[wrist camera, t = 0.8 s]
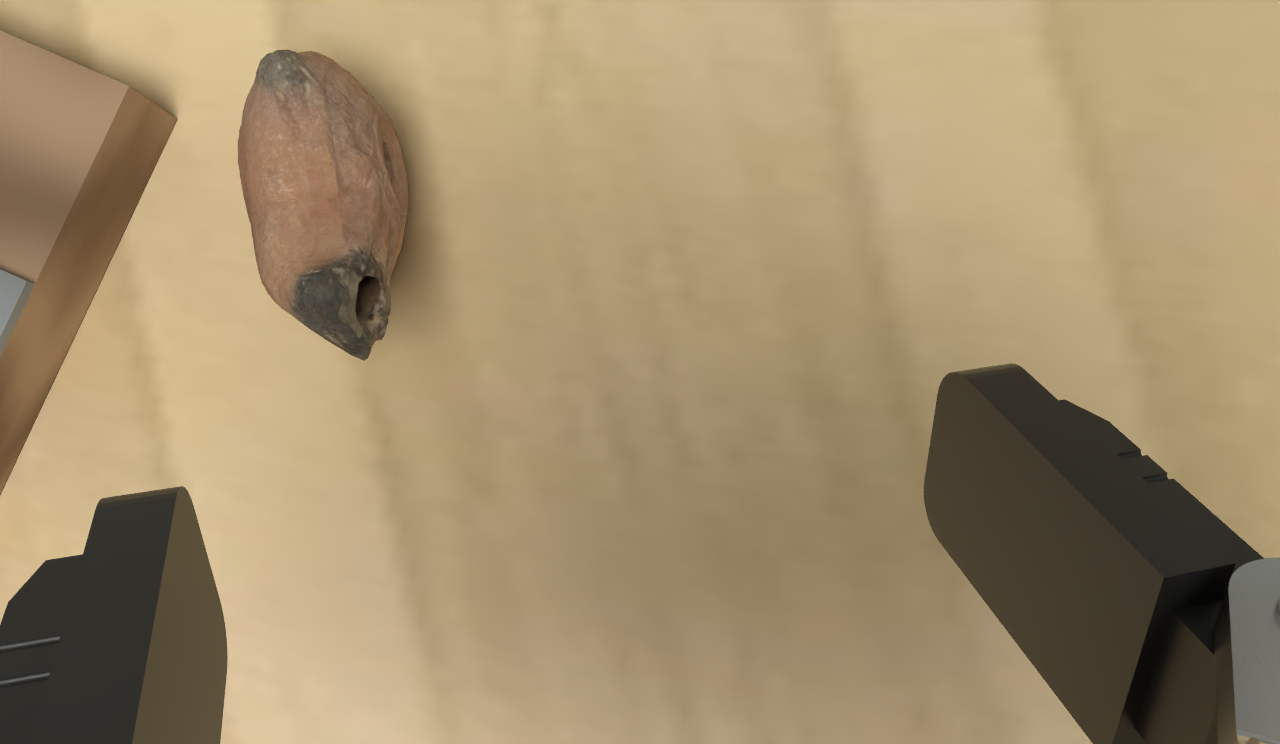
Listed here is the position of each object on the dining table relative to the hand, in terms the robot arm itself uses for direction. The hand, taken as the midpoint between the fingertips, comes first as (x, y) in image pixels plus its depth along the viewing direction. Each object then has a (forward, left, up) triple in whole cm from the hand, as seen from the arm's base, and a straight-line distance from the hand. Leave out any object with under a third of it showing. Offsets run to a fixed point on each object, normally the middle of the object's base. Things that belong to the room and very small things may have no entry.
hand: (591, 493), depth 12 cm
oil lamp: (-3, -10, -21) cm, 23 cm away
